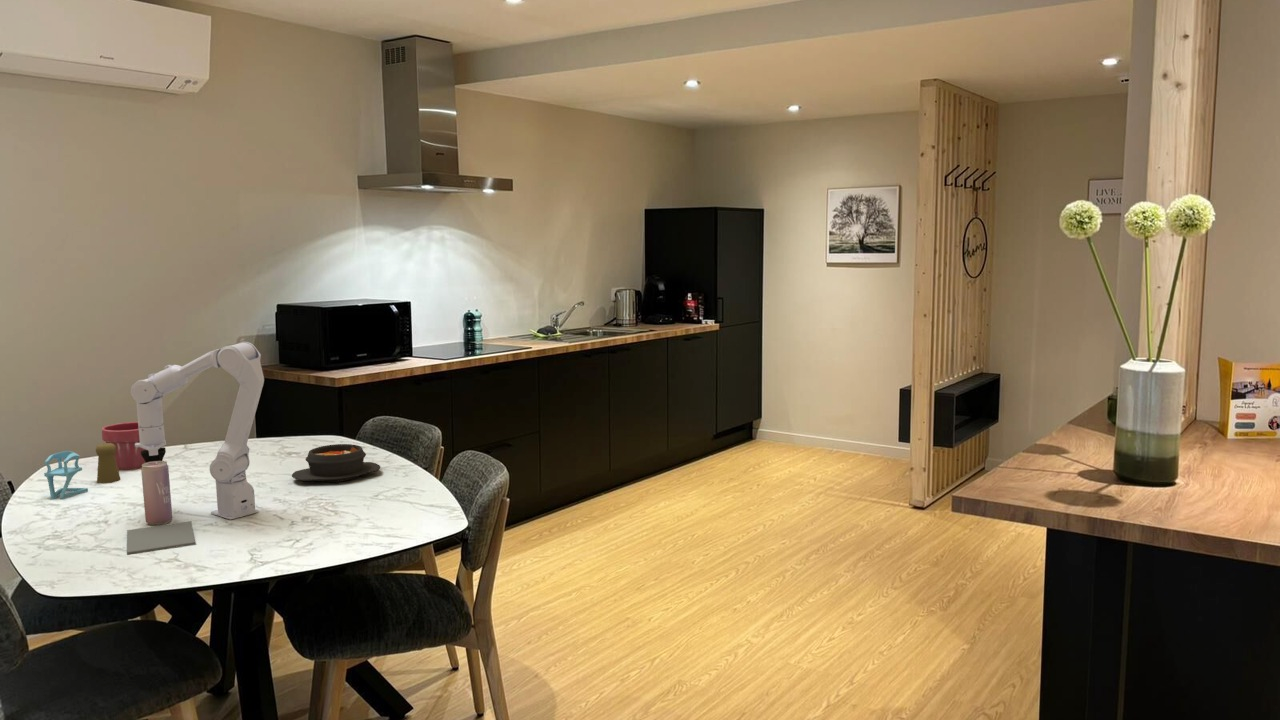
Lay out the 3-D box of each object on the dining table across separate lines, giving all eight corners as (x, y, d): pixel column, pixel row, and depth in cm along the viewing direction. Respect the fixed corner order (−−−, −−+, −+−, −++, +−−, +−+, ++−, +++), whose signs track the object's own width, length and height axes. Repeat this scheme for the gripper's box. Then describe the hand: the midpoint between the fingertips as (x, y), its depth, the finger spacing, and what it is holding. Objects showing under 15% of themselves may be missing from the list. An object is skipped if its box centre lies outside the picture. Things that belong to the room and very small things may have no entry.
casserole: (372, 465, 287) (371, 438, 286) (387, 478, 271) (386, 450, 270) (287, 475, 275) (285, 448, 274) (297, 490, 259) (295, 461, 258)
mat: (127, 532, 224) (127, 530, 224) (191, 523, 231) (191, 521, 231) (126, 554, 208) (126, 552, 208) (195, 544, 215) (195, 542, 215)
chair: (42, 499, 253) (37, 456, 251) (61, 490, 261) (57, 449, 259) (69, 499, 252) (65, 456, 250) (88, 490, 260) (84, 449, 259)
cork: (91, 482, 269) (88, 445, 267) (108, 477, 275) (105, 441, 273) (109, 483, 268) (105, 446, 266) (125, 478, 273) (122, 442, 272)
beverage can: (163, 517, 236) (158, 459, 234) (177, 520, 233) (173, 462, 231) (140, 523, 231) (135, 464, 229) (154, 527, 228) (149, 467, 226)
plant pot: (166, 461, 294) (163, 421, 292) (138, 472, 280) (135, 431, 278) (124, 460, 295) (121, 420, 294) (94, 471, 282) (90, 430, 280)
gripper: (133, 422, 241) (137, 473, 243) (133, 432, 228) (137, 486, 230) (163, 419, 244) (167, 469, 246) (165, 429, 231) (169, 482, 233)
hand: (155, 477), depth 238 cm, fingers closed
